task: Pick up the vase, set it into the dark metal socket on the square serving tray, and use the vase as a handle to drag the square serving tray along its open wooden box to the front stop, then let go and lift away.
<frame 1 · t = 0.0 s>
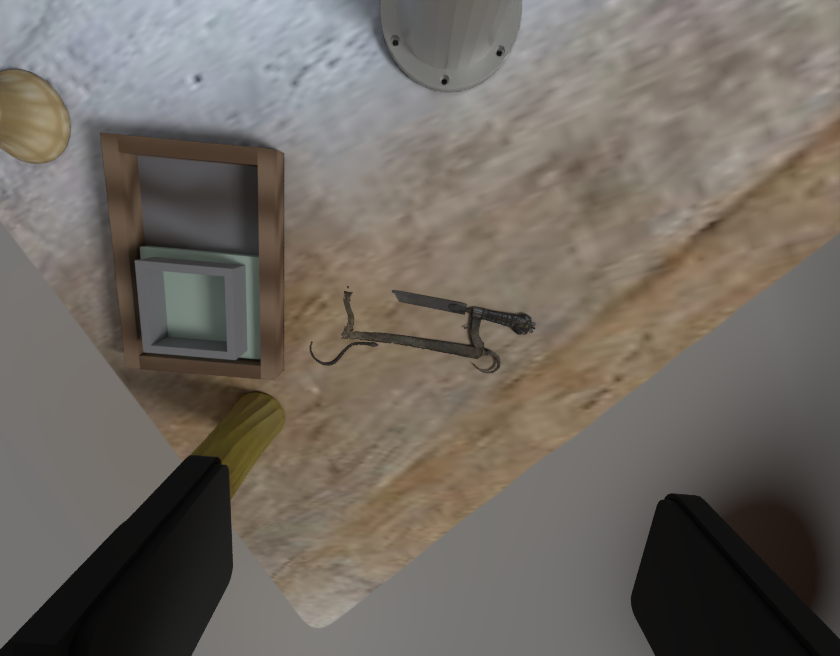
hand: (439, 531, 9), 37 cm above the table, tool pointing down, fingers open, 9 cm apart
vase: (259, 414, 49), on the table
hacksaw: (420, 337, 47), on the table
hand bell: (29, 118, 41), on the table
square serving tray: (197, 307, 43), point 3 cm above the table, slide at 0.0 cm
open wooden box: (209, 262, 44), on the table
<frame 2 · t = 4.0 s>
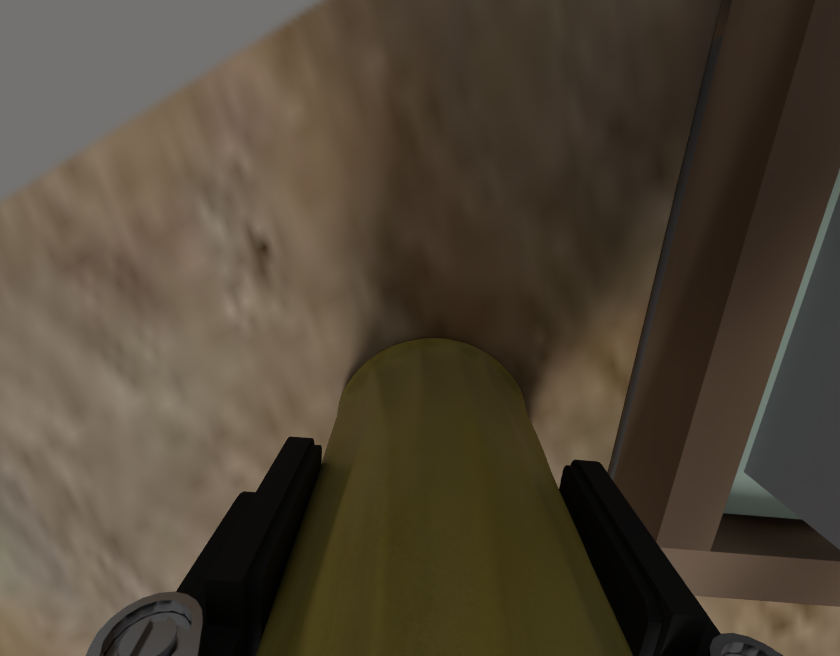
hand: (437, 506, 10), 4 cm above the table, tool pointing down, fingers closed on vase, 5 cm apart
vase: (431, 422, 14), on the table, touching gripper
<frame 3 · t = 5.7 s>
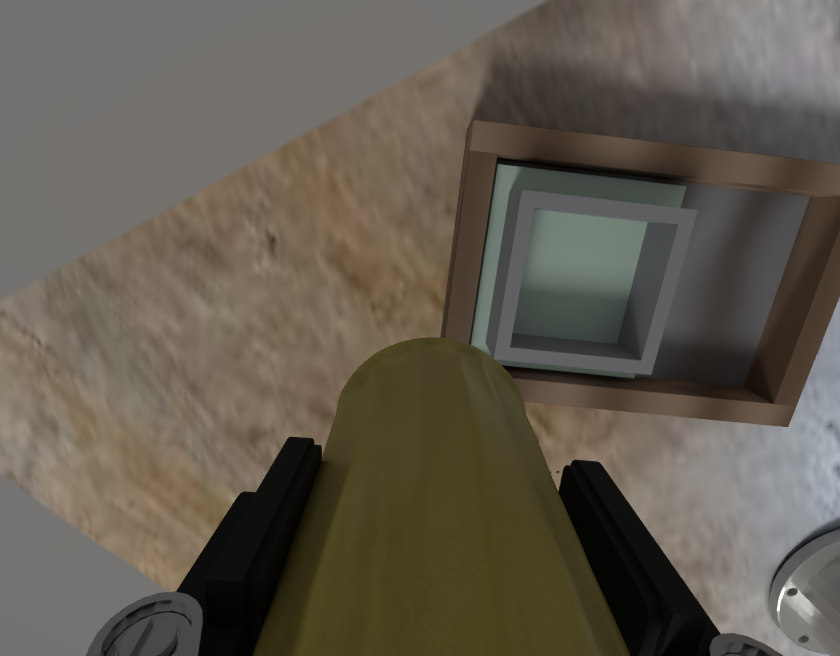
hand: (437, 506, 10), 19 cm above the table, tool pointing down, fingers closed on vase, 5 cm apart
vase: (430, 422, 14), point 15 cm above the table, touching gripper
square serving tray: (576, 281, 25), point 3 cm above the table, slide at 0.0 cm
open wooden box: (623, 281, 27), on the table
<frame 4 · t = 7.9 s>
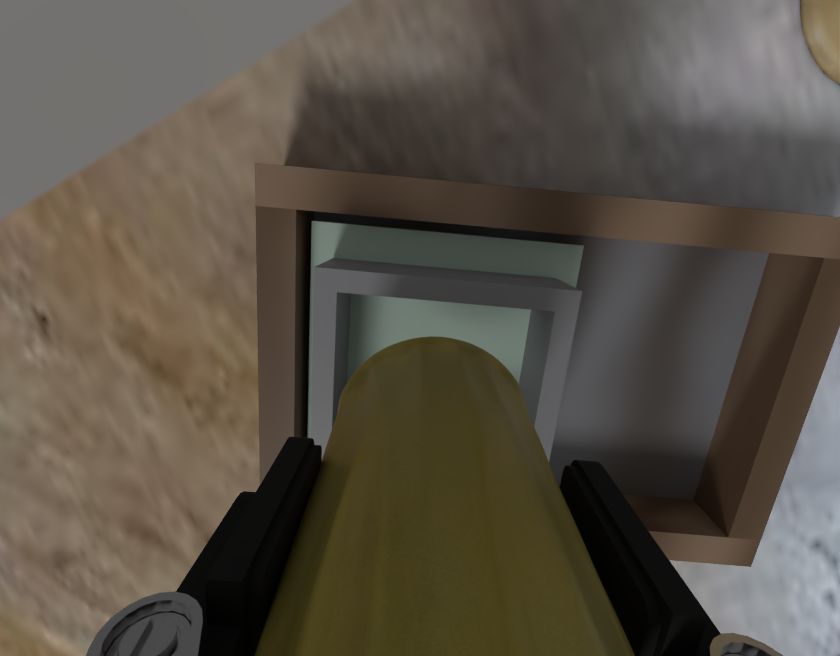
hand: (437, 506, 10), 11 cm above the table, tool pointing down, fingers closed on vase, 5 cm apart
vase: (431, 421, 14), point 7 cm above the table, touching gripper
square serving tray: (434, 380, 17), point 3 cm above the table, slide at 0.0 cm
open wooden box: (519, 365, 20), on the table
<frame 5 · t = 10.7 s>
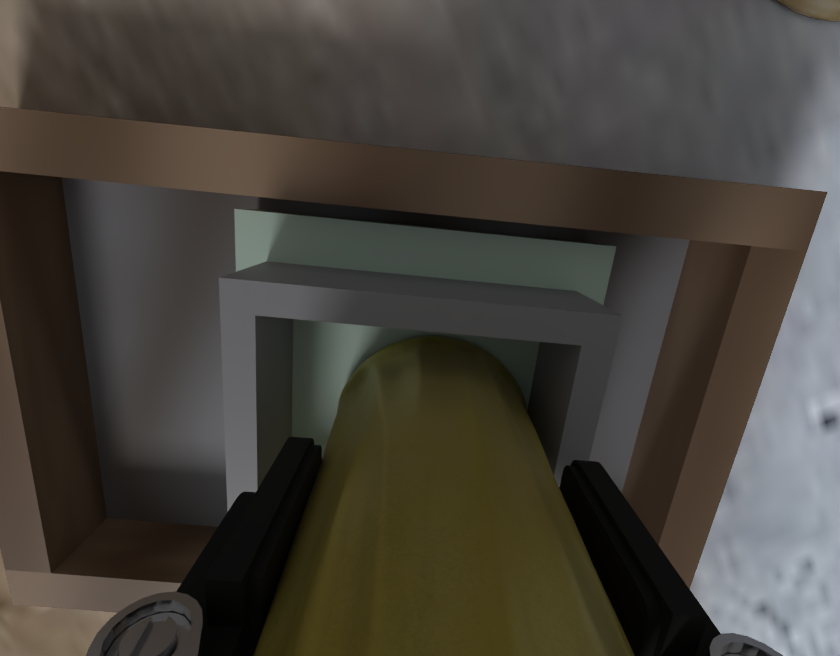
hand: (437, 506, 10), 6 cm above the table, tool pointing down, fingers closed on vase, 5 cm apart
vase: (431, 420, 14), point 2 cm above the table, touching square serving tray, gripper
square serving tray: (408, 430, 13), point 3 cm above the table, slide at 5.7 cm, touching vase
open wooden box: (370, 388, 15), on the table
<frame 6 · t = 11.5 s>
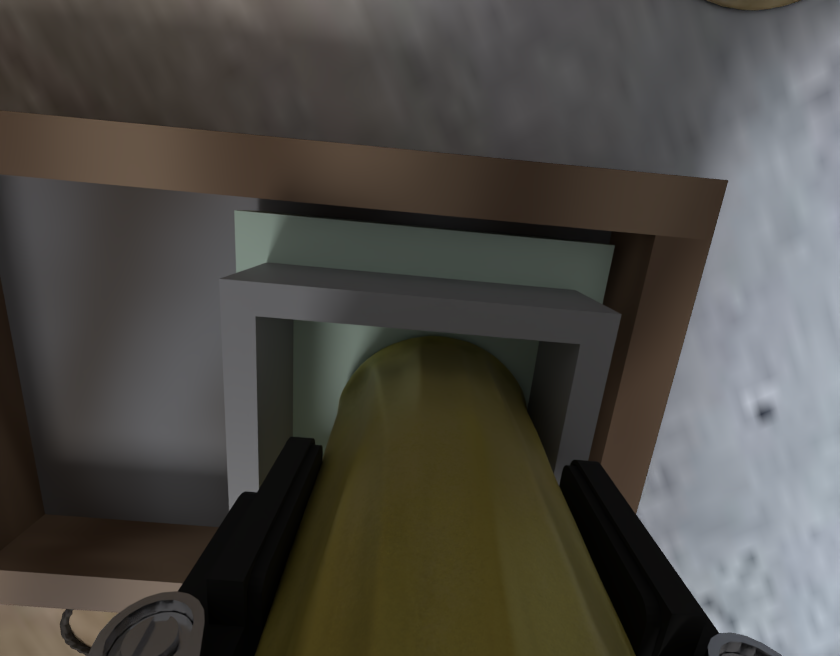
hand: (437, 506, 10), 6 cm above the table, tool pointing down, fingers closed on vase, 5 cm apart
vase: (431, 420, 14), point 2 cm above the table, touching square serving tray, gripper
square serving tray: (408, 429, 13), point 3 cm above the table, slide at 8.2 cm, touching vase
open wooden box: (302, 382, 15), on the table
when the fingers open (6 cm above the table, at t = 11.8 s): vase stays where it is, resting on square serving tray.
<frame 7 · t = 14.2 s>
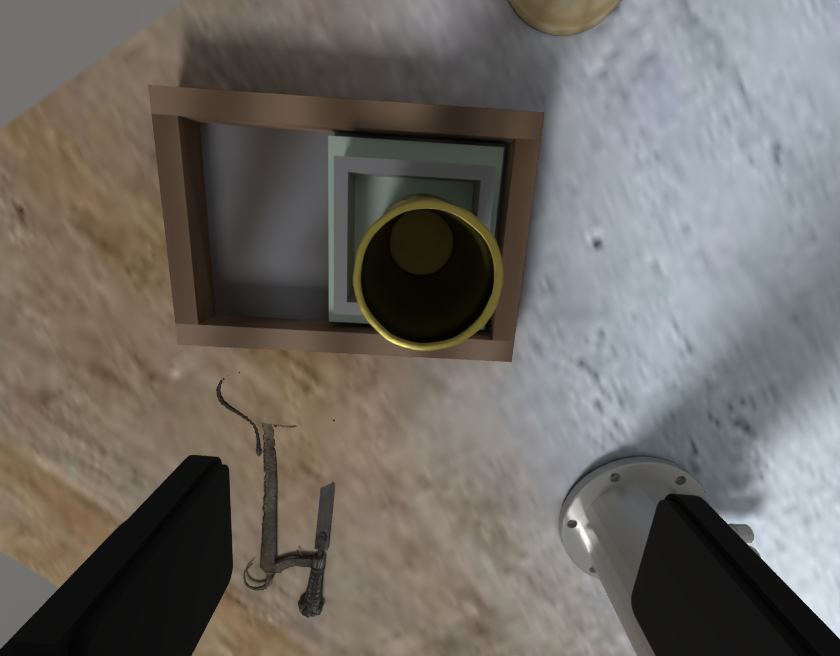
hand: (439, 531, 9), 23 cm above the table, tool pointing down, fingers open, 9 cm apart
vase: (421, 241, 28), point 2 cm above the table, touching square serving tray
hacksaw: (277, 498, 37), on the table
square serving tray: (411, 240, 27), point 3 cm above the table, slide at 8.3 cm, touching vase
open wooden box: (354, 233, 29), on the table
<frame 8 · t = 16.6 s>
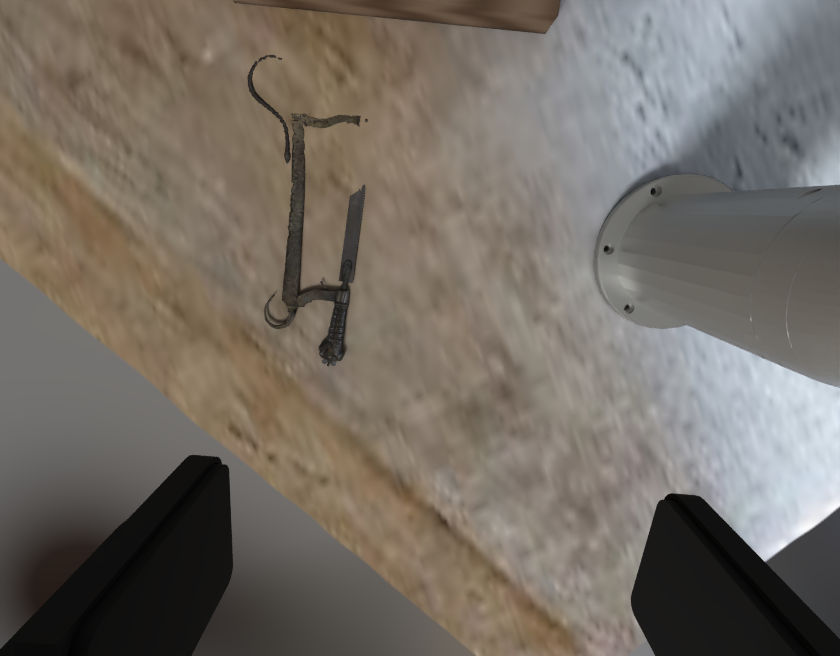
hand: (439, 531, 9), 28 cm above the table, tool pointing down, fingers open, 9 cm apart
hacksaw: (302, 223, 35), on the table
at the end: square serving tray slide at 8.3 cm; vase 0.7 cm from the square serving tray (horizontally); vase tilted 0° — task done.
